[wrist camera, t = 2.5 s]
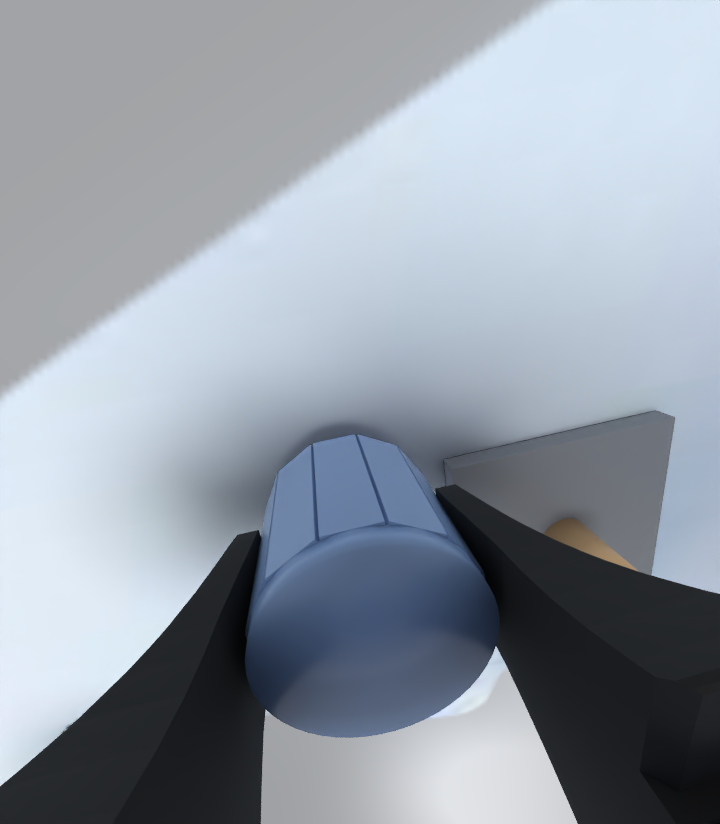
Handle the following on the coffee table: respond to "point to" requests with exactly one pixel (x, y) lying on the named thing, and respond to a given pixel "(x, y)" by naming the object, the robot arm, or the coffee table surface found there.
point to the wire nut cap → (363, 595)
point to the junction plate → (581, 485)
